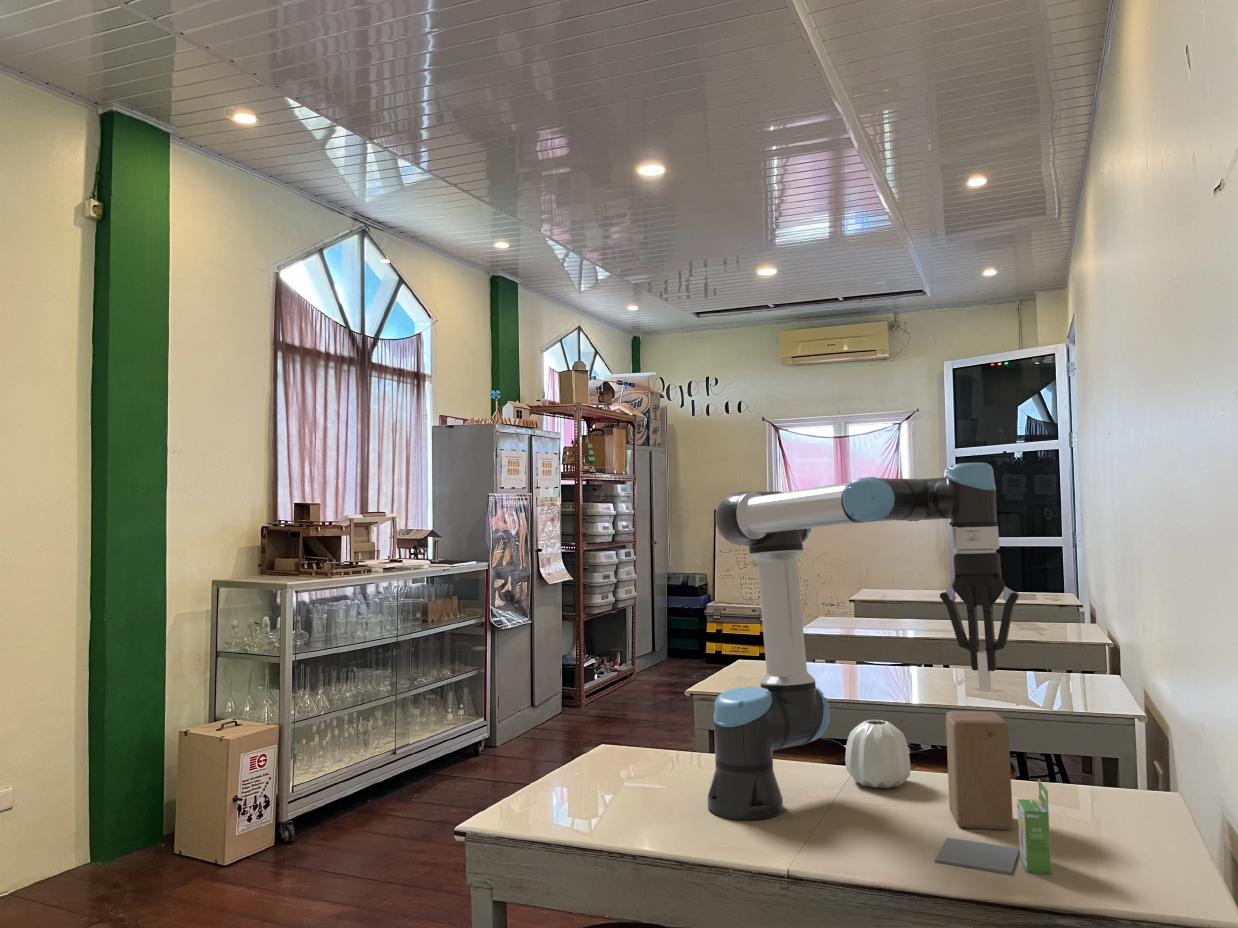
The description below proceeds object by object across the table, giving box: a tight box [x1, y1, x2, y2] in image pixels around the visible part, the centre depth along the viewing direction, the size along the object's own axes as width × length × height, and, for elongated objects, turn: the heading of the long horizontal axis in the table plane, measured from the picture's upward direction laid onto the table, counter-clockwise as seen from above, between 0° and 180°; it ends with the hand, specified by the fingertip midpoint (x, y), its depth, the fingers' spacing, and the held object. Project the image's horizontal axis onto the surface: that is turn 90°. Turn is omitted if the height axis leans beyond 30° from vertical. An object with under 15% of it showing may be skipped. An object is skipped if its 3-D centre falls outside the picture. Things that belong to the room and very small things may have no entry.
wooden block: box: [945, 710, 1014, 831], centre depth 171 cm, size 10×10×20 cm
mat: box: [934, 836, 1020, 876], centre depth 153 cm, size 12×12×1 cm
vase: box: [844, 719, 911, 789], centre depth 196 cm, size 14×14×13 cm
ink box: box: [1016, 778, 1053, 875], centre depth 149 cm, size 7×4×13 cm, turn 165°
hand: (985, 689), depth 152 cm, fingers closed
